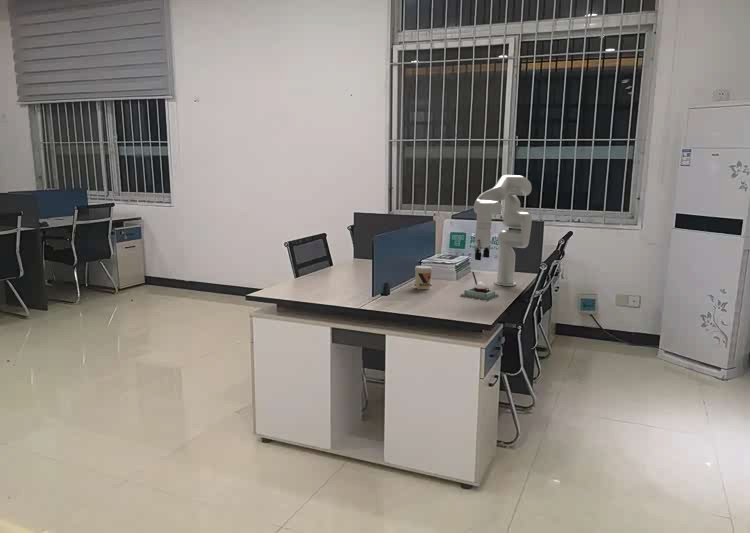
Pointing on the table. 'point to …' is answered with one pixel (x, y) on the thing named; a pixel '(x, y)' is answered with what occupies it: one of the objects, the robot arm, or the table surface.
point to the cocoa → (480, 286)
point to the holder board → (479, 294)
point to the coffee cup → (423, 277)
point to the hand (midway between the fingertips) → (482, 258)
